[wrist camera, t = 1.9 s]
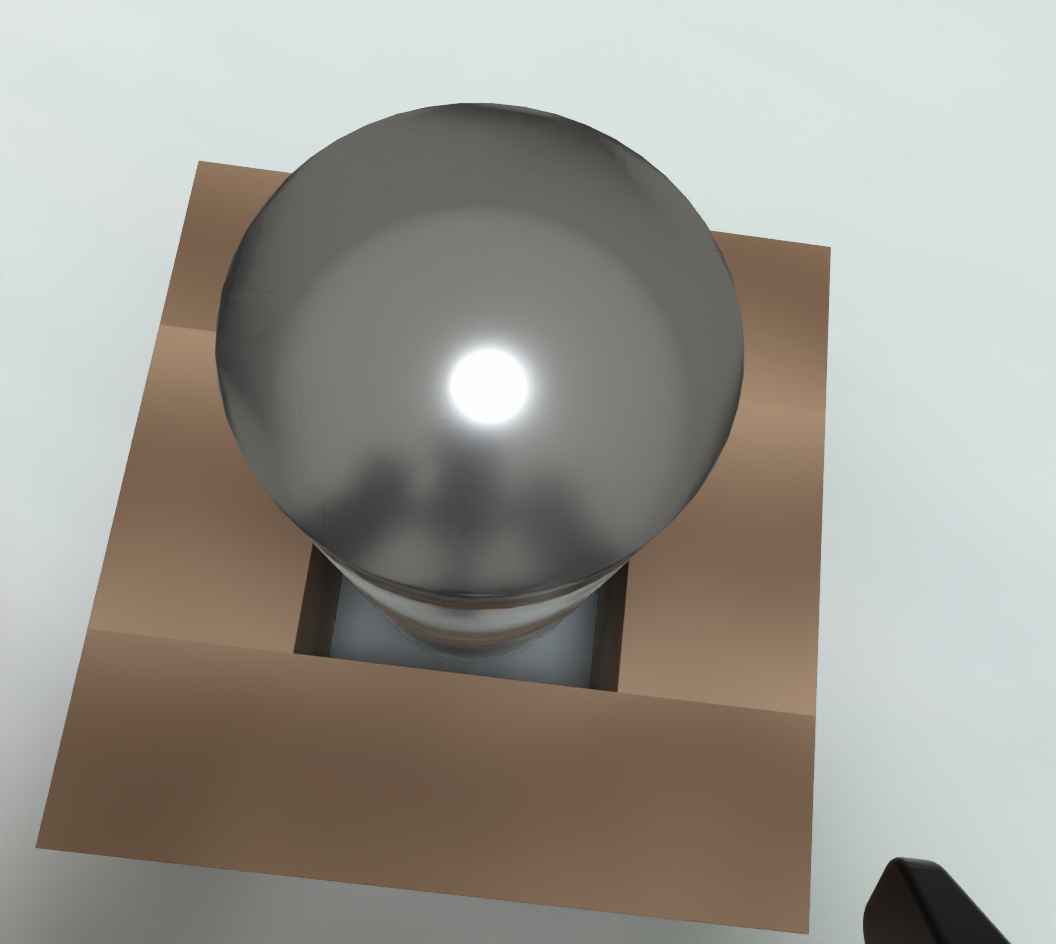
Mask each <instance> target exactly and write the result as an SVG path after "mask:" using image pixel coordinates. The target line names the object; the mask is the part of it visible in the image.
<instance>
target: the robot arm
mask: <svg viewBox="0 0 1056 944" xmlns="http://www.w3.org/2000/svg"><path fill="white" fill-rule="evenodd" d="M863 933H864V940H865V944H1011V943H1010V942H1009V941H1008V940H1007V939H1006V938H1005V937H1004V935H1003V934H1002V933H1001V932H1000V931H999V930H998V929H997V928H996V926H995V925H994V924H993V923H992V922H991V921H990V920H989V919H988V917H987V916H986V915H985V914H984V913H983V912H982V911H981V910H980V908H979V907H978V906H977V905H976V904H975V903H974V902H973V901H972V899H971V898H970V897H969V896H968V895H967V894H966V893H965V892H964V890H963V889H962V888H961V887H960V886H959V885H958V884H957V883H956V881H955V880H954V879H953V878H952V877H951V876H950V875H949V874H948V872H947V871H946V870H945V869H944V868H942V867H941V866H940V865H938V864H937V863H935V862H932V861H929V860H921V859H912V858H904V857H896V858H894V859H893V860H891V861H890V862H889V863H888V865H887V866H886V868H885V870H884V872H883V874H882V876H881V878H880V880H879V882H878V883H877V885H876V887H875V889H874V891H873V893H872V895H871V897H870V899H869V901H868V903H867V905H866V908H865V911H864V917H863Z"/></svg>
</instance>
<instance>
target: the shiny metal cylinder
mask: <svg viewBox="0 0 1056 944" xmlns="http://www.w3.org/2000/svg"><path fill="white" fill-rule="evenodd" d="M215 358H216V368H217V377H218V387H219V391H220V394H221V398H222V402H223V406H224V410H225V414H226V418H227V421H228V423H229V426H230V428H231V431H232V433H233V436H234V438H235V440H236V443H237V445H238V448H239V450H240V452H241V454H242V455H243V457H244V459H245V460H246V462H247V464H248V466H249V467H250V469H251V471H252V472H253V474H254V476H255V477H256V479H257V481H258V482H259V483H260V485H261V486H262V487H263V488H264V490H265V491H266V492H267V493H268V495H269V496H270V497H271V498H272V500H273V501H274V502H275V503H276V505H277V506H278V507H279V508H280V509H281V510H282V511H283V512H284V514H285V515H286V516H287V517H288V518H289V519H290V520H291V521H292V522H293V523H294V524H295V525H296V526H297V527H298V528H299V529H300V530H301V531H302V532H303V533H304V534H305V535H306V536H307V537H308V538H309V539H310V540H311V541H312V542H313V543H314V544H315V545H316V546H317V547H318V549H319V550H320V551H321V552H322V553H323V554H324V555H325V556H326V557H327V558H328V559H329V560H330V561H331V562H332V563H333V564H334V565H335V566H336V567H337V568H338V569H339V570H340V571H341V572H342V573H343V574H344V575H345V576H346V577H347V578H348V579H349V580H350V581H351V583H352V584H353V585H354V586H355V587H356V588H357V589H358V590H359V591H360V592H361V593H362V594H363V595H364V596H365V597H366V598H367V599H368V600H369V601H370V602H371V603H372V604H373V605H374V606H375V607H376V608H377V609H378V610H379V611H380V612H381V613H382V614H383V615H384V617H385V618H386V619H387V620H388V621H389V622H390V623H391V624H392V625H393V626H394V627H395V628H396V629H397V630H398V631H399V632H401V633H402V634H403V635H404V636H405V637H406V638H408V639H409V640H410V641H412V642H413V643H415V644H416V645H418V646H420V647H421V648H423V649H425V650H427V651H429V652H431V653H434V654H437V655H440V656H442V657H446V658H451V659H455V660H462V661H488V660H494V659H499V658H503V657H506V656H509V655H513V654H516V653H518V652H520V651H522V650H524V649H526V648H528V647H530V646H531V645H533V644H534V643H536V642H538V641H539V640H541V639H542V638H543V637H544V636H545V635H547V634H548V633H549V632H550V631H551V630H552V629H553V628H555V627H556V626H557V625H558V624H559V623H560V622H561V621H562V620H563V619H565V618H566V617H567V616H568V615H569V614H570V613H571V612H572V611H573V610H575V609H576V608H577V607H578V606H579V605H580V604H581V603H582V602H583V601H584V600H586V599H587V598H588V597H589V596H590V595H591V594H592V593H593V592H594V591H596V590H597V589H598V588H599V587H600V586H601V585H602V584H603V583H604V582H606V581H607V580H608V579H609V578H610V577H611V576H612V575H613V574H614V573H616V572H617V571H618V570H619V569H620V568H621V567H622V566H623V565H624V564H626V563H627V562H628V561H629V560H630V559H631V558H632V557H633V556H634V555H636V554H637V553H638V552H639V551H640V550H641V549H642V548H643V547H644V546H646V545H647V544H648V543H649V542H650V541H651V540H652V539H653V538H654V537H655V536H657V535H658V534H659V533H660V532H661V531H662V530H663V529H664V528H665V527H667V526H668V525H669V524H670V523H671V522H672V521H673V520H674V519H675V518H676V517H677V516H678V515H679V513H680V512H681V511H682V510H683V509H684V508H685V507H686V506H687V504H688V503H689V502H690V501H691V500H692V499H693V498H694V497H695V495H696V494H697V493H698V491H699V490H700V488H701V487H702V485H703V483H704V482H705V480H706V479H707V477H708V476H709V474H710V473H711V471H712V470H713V468H714V467H715V465H716V463H717V461H718V459H719V456H720V454H721V452H722V450H723V448H724V446H725V444H726V442H727V440H728V438H729V435H730V431H731V428H732V425H733V422H734V419H735V416H736V412H737V409H738V406H739V400H740V394H741V388H742V382H743V376H744V334H743V325H742V316H741V309H740V306H739V302H738V298H737V294H736V290H735V286H734V282H733V279H732V276H731V274H730V271H729V269H728V266H727V264H726V261H725V259H724V257H723V254H722V252H721V250H720V248H719V246H718V244H717V243H716V241H715V239H714V237H713V235H712V234H711V232H710V230H709V228H708V227H707V225H706V223H705V222H704V221H703V219H702V218H701V217H700V215H699V214H698V212H697V211H696V210H695V208H694V207H693V206H692V204H691V203H690V202H689V200H688V199H687V198H686V197H685V196H684V195H683V194H682V193H681V192H680V191H679V190H678V188H677V187H676V186H675V185H674V184H673V183H672V182H671V181H670V180H669V179H668V178H667V177H666V176H665V175H664V174H663V173H661V172H660V171H659V170H658V169H656V168H655V167H654V166H653V165H652V164H650V163H649V162H648V161H647V160H646V159H644V158H643V157H642V156H641V155H639V154H637V153H636V152H634V151H633V150H631V149H630V148H628V147H627V146H625V145H623V144H622V143H620V142H619V141H617V140H616V139H614V138H612V137H610V136H608V135H606V134H604V133H602V132H600V131H598V130H595V129H593V128H591V127H589V126H587V125H585V124H582V123H579V122H577V121H574V120H571V119H568V118H565V117H562V116H560V115H557V114H553V113H549V112H544V111H540V110H536V109H531V108H527V107H521V106H512V105H503V104H494V103H458V104H449V105H440V106H432V107H426V108H421V109H417V110H413V111H408V112H404V113H400V114H396V115H393V116H390V117H388V118H385V119H382V120H379V121H376V122H374V123H371V124H368V125H366V126H364V127H362V128H360V129H358V130H356V131H354V132H352V133H350V134H348V135H346V136H344V137H342V138H340V139H338V140H336V141H335V142H333V143H332V144H330V145H329V146H327V147H326V148H324V149H323V150H321V151H320V152H318V153H317V154H315V155H314V156H312V157H311V158H310V159H308V160H307V161H306V162H305V163H304V164H303V165H301V166H300V167H299V168H298V169H297V170H296V171H294V172H293V173H292V174H291V175H290V176H289V177H288V178H286V179H285V181H284V182H283V183H282V184H281V185H280V186H279V187H278V188H277V190H276V191H275V192H274V193H273V194H272V195H271V196H270V197H269V198H268V200H267V201H266V202H265V203H264V205H263V206H262V208H261V209H260V210H259V212H258V213H257V215H256V216H255V218H254V219H253V221H252V222H251V224H250V225H249V227H248V228H247V230H246V232H245V234H244V236H243V238H242V240H241V242H240V244H239V246H238V248H237V250H236V252H235V254H234V256H233V258H232V261H231V264H230V267H229V270H228V273H227V276H226V279H225V282H224V285H223V288H222V293H221V298H220V303H219V309H218V314H217V319H216V341H215Z"/></svg>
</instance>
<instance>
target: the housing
mask: <svg viewBox="0 0 1056 944" xmlns="http://www.w3.org/2000/svg"><path fill="white" fill-rule="evenodd" d="M291 174H292V173H285V172H278V171H270V170H263V169H256V168H248V167H241V166H234V165H226V164H219V163H212V162H204V161H199V162H198V166H197V170H196V174H195V179H194V183H193V187H192V191H191V195H190V200H189V204H188V208H187V212H186V216H185V221H184V225H183V229H182V233H181V237H180V242H179V246H178V250H177V254H176V259H175V263H174V267H173V271H172V275H171V280H170V284H169V288H168V292H167V296H166V301H165V305H164V309H163V313H162V317H161V322H160V326H159V330H158V334H157V339H156V343H155V347H154V351H153V355H152V360H151V364H150V368H149V372H148V376H147V381H146V385H145V389H144V393H143V397H142V402H141V406H140V410H139V414H138V419H137V423H136V427H135V431H134V435H133V440H132V444H131V448H130V452H129V456H128V461H127V465H126V469H125V473H124V477H123V482H122V486H121V490H120V494H119V499H118V503H117V507H116V511H115V515H114V520H113V524H112V528H111V532H110V536H109V541H108V545H107V549H106V553H105V557H104V562H103V566H102V570H101V574H100V579H99V583H98V587H97V591H96V595H95V600H94V604H93V608H92V612H91V616H90V621H89V625H88V629H87V633H86V637H85V642H84V646H83V650H82V654H81V659H80V663H79V667H78V671H77V675H76V680H75V684H74V688H73V692H72V696H71V701H70V705H69V709H68V713H67V717H66V722H65V726H64V730H63V734H62V739H61V743H60V747H59V751H58V755H57V760H56V764H55V768H54V772H53V776H52V781H51V785H50V789H49V793H48V797H47V802H46V806H45V810H44V814H43V819H42V823H41V827H40V831H39V835H38V840H37V844H36V848H42V849H51V850H60V851H68V852H77V853H86V854H95V855H104V856H113V857H122V858H131V859H140V860H149V861H158V862H167V863H175V864H184V865H193V866H202V867H211V868H220V869H229V870H238V871H247V872H256V873H265V874H274V875H282V876H291V877H300V878H309V879H318V880H327V881H336V882H345V883H354V884H363V885H372V886H381V887H390V888H398V889H407V890H416V891H425V892H434V893H443V894H452V895H461V896H470V897H479V898H488V899H497V900H505V901H514V902H523V903H532V904H541V905H550V906H559V907H568V908H577V909H586V910H595V911H604V912H612V913H621V914H630V915H639V916H648V917H657V918H666V919H675V920H684V921H693V922H702V923H711V924H719V925H728V926H737V927H746V928H755V929H764V930H773V931H782V932H791V933H800V934H809V908H810V876H811V845H812V814H813V783H814V752H815V721H816V689H817V658H818V627H819V596H820V565H821V533H822V502H823V471H824V440H825V409H826V377H827V346H828V315H829V284H830V253H831V247H826V246H818V245H811V244H804V243H796V242H789V241H782V240H774V239H767V238H760V237H753V236H745V235H738V234H731V233H723V232H716V231H710V232H711V234H712V235H713V237H714V239H715V241H716V243H717V244H718V246H719V248H720V250H721V252H722V254H723V257H724V259H725V261H726V264H727V266H728V269H729V271H730V274H731V276H732V279H733V282H734V286H735V290H736V294H737V298H738V302H739V306H740V309H741V316H742V325H743V334H744V376H743V382H742V388H741V394H740V400H739V406H738V409H737V412H736V416H735V419H734V422H733V425H732V428H731V431H730V435H729V438H728V440H727V442H726V444H725V446H724V448H723V450H722V452H721V454H720V456H719V459H718V461H717V463H716V465H715V467H714V468H713V470H712V471H711V473H710V474H709V476H708V477H707V479H706V480H705V482H704V483H703V485H702V487H701V488H700V490H699V491H698V493H697V494H696V495H695V497H694V498H693V499H692V500H691V501H690V502H689V503H688V504H687V506H686V507H685V508H684V509H683V510H682V511H681V512H680V513H679V515H678V516H677V517H676V518H675V519H674V520H673V521H672V522H671V523H670V524H669V525H668V526H667V527H665V528H664V529H663V530H662V531H661V532H660V533H659V534H658V535H657V536H655V537H654V538H653V539H652V540H651V541H650V542H649V543H648V544H647V545H646V546H644V547H643V548H642V549H641V550H640V551H639V552H638V553H637V554H636V555H634V556H633V557H632V558H631V559H630V560H629V561H628V562H627V563H626V564H624V565H623V566H622V567H621V568H620V569H619V570H618V571H617V572H616V573H614V574H613V575H612V576H611V577H610V578H609V579H608V580H607V581H606V582H604V583H603V584H602V585H601V586H600V587H599V595H598V606H597V616H596V627H595V637H594V648H593V658H592V669H591V679H590V689H586V688H578V687H569V686H561V685H553V684H544V683H536V682H528V681H519V680H511V679H503V678H494V677H486V676H478V675H469V674H461V673H452V672H444V671H436V670H427V669H419V668H411V667H402V666H394V665H386V664H377V663H369V662H361V661H352V660H344V659H336V658H328V657H329V652H330V646H331V640H332V634H333V628H334V622H335V616H336V610H337V604H338V598H339V592H340V586H341V580H342V574H343V573H342V572H341V571H340V570H339V569H338V568H337V567H336V566H335V565H334V564H333V563H332V562H331V561H330V560H329V559H328V558H327V557H326V556H325V555H324V554H323V553H322V552H321V551H320V550H319V549H318V547H317V546H316V545H315V544H314V543H313V542H312V541H311V540H310V539H309V538H308V537H307V536H306V535H305V534H304V533H303V532H302V531H301V530H300V529H299V528H298V527H297V526H296V525H295V524H294V523H293V522H292V521H291V520H290V519H289V518H288V517H287V516H286V515H285V514H284V512H283V511H282V510H281V509H280V508H279V507H278V506H277V505H276V503H275V502H274V501H273V500H272V498H271V497H270V496H269V495H268V493H267V492H266V491H265V490H264V488H263V487H262V486H261V485H260V483H259V482H258V481H257V479H256V477H255V476H254V474H253V472H252V471H251V469H250V467H249V466H248V464H247V462H246V460H245V459H244V457H243V455H242V454H241V452H240V450H239V448H238V445H237V443H236V440H235V438H234V436H233V433H232V431H231V428H230V426H229V423H228V421H227V418H226V414H225V410H224V406H223V402H222V398H221V394H220V391H219V387H218V377H217V368H216V358H215V341H216V319H217V314H218V309H219V303H220V298H221V293H222V288H223V285H224V282H225V279H226V276H227V273H228V270H229V267H230V264H231V261H232V258H233V256H234V254H235V252H236V250H237V248H238V246H239V244H240V242H241V240H242V238H243V236H244V234H245V232H246V230H247V228H248V227H249V225H250V224H251V222H252V221H253V219H254V218H255V216H256V215H257V213H258V212H259V210H260V209H261V208H262V206H263V205H264V203H265V202H266V201H267V200H268V198H269V197H270V196H271V195H272V194H273V193H274V192H275V191H276V190H277V188H278V187H279V186H280V185H281V184H282V183H283V182H284V181H285V179H286V178H288V177H289V176H290V175H291Z"/></svg>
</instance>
